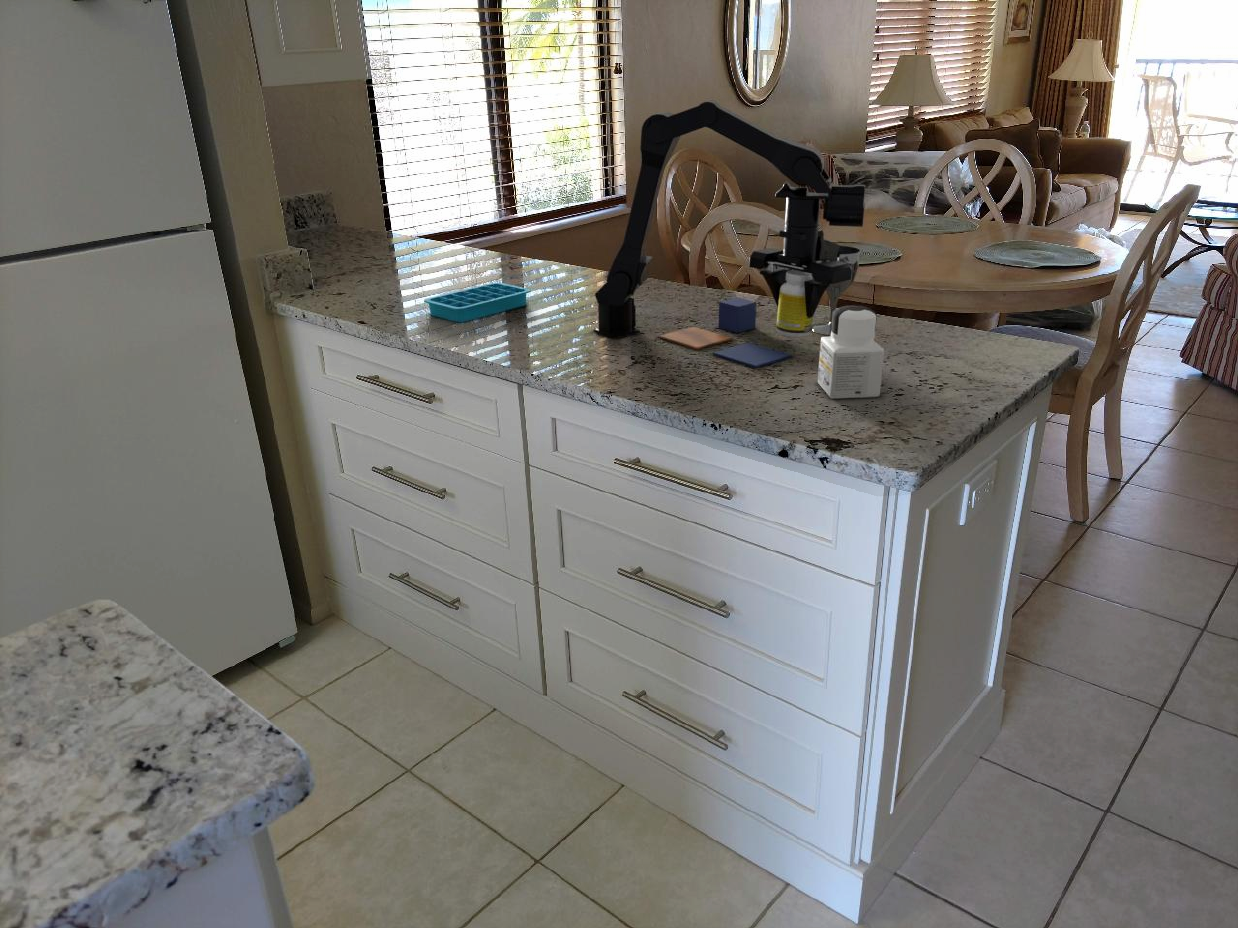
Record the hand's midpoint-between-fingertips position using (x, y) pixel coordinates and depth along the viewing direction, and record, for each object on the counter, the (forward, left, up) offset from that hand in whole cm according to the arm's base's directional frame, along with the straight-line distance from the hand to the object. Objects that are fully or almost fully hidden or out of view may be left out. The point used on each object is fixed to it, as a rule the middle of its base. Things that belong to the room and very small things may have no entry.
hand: (795, 313), depth 170 cm
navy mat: (-11, 0, -6) cm, 12 cm away
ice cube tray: (-29, +59, -6) cm, 66 cm away
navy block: (0, +14, -6) cm, 15 cm away
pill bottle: (0, 0, -4) cm, 4 cm away
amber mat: (-11, +14, -6) cm, 19 cm away
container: (-13, -22, -6) cm, 26 cm away
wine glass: (+12, +1, -6) cm, 13 cm away
